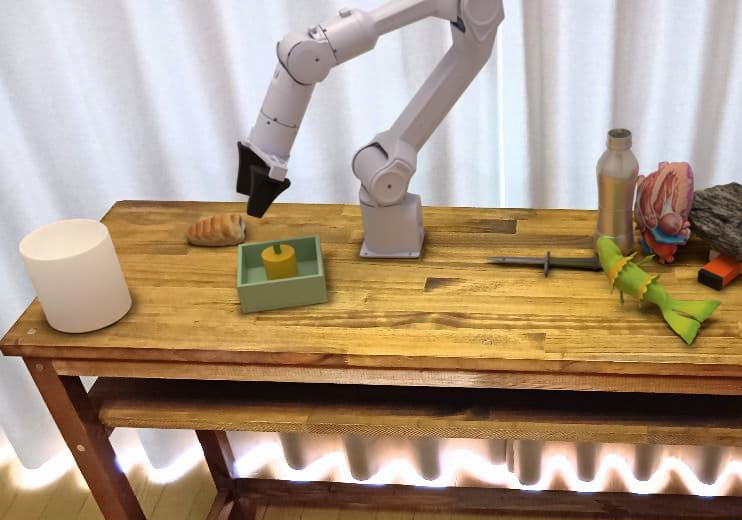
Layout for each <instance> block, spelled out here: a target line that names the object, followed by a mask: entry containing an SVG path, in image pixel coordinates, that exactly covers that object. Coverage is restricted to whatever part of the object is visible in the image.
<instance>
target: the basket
mask: <svg viewBox="0 0 742 520" xmlns="http://www.w3.org/2000/svg"><path fill="white" fill-rule="evenodd" d="M274 242H279V243H280V245H289V246H291V247H292V248H293V249H294V251H295V256H296V261H297V266H298V271H299V276H300V277H294V278H286V279H278V280H271V281H267V278H266V273H265V269H264V264H263V260H262V252H263V251H264V250H265V249H266V248H268V247H271V246H273V243H274ZM236 267H237V268H236V269H237V271H236V272H237V273H236V290H237V292H238V297H239V302H240V305H241V306H240V307H241V310H242V313H243V314H249V313H250V314H251V313H257V312H263V311H264V312H265V311H271V310H272V311H273V310H279V309H287V308H295V307H300V306H301V307H303V306H308V305H315V304H324V303H328V301H329V300H328V292H327V282H326V273H325V263H324V256H323V250H322V245H321V239H320V234H313V235H305V236H297V237H288V238H281V239H280V238H279V239H273V240H272V239H271V240H264V241H257V242H248V243H239V244H237V266H236Z"/></svg>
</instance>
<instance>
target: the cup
mask: <svg viewBox="0 0 742 520" xmlns="http://www.w3.org/2000/svg"><path fill="white" fill-rule="evenodd" d="M18 252H19V255H20V257H21V260H22V262H23V265H24V267H25V270H26V272H27V274H28V277H29V279H30V282H31V284H32V286H33V289H34V291H35V293H36V296H37V299H38V300H39V303H40V305H41V308H42V310H43V313H44V316H45V318H46V320H47V322H48V324H49V325H50V327H52V328H53V329H55V330H57V331H60V332H63V333H71V334H77V333H78V334H80V333H88V332H93V331H97V330H101V329H103V328H106V327H108V326H110V325H112V324H115V323H116V322H117V321H119V320H120V319H122V318H123V317H124V316H125V315H126V314H127V313H128V312H129V311H130V309H131V307H132V304H133V303H132V302H133V300H132V296H131V294H130V290H129V288H128V285H127V282H126V279H125V275H124V272H123V270H122V266H121V264H120V261H119V259H118V255H117V252H116V248H115V247H114V244H113V239H112V237H111V234H110V232H109V229H108V227H107V226H106V225H105V224H104V223H102V222H100V221H98V220H95V219H89V218H71V219H63V220H59V221H55V222H52V223H49V224H45V225H43V226H41V227H39V228H37V229H34V230H32V231H31V232H30V233H28V234H27V235H26V236H24V237H23V239H22V240H21V241H20V243H19V246H18Z"/></svg>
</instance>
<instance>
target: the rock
mask: <svg viewBox="0 0 742 520" xmlns="http://www.w3.org/2000/svg"><path fill="white" fill-rule="evenodd" d="M687 222H689V223H690V227H688V229H689V230H690V234H692V235H695V238H698V239H700V240H701V241H703V242H705V243H706V244H707V245H709V246H710V247H711V248H714V249H715V250H716V251H717V252H719V253H721V254H723V255H725V256H726V257H732V258H734V259H736V260H740V261H742V184H741V183H739V182H736V181H732V182H729V183H725V184H716V185H713V186H711V187H706V188H704V189H699V190H694V196H693V202H692V207H691V210H690V212H689V214H688V218H687Z"/></svg>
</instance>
